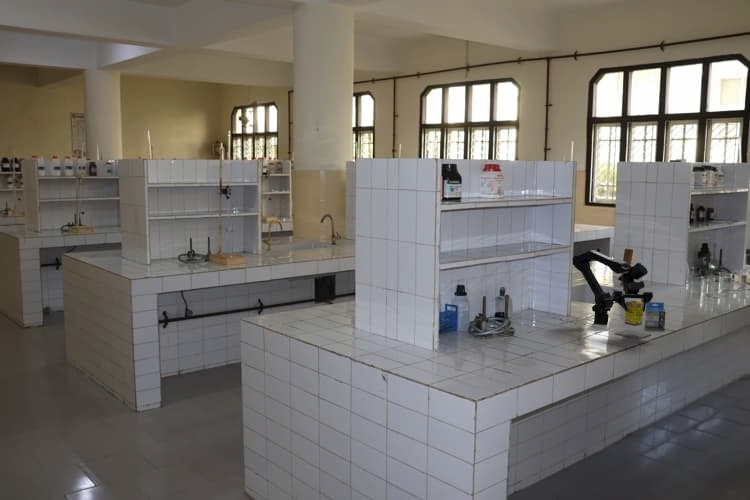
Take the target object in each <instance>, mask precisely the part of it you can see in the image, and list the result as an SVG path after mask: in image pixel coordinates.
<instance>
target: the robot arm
mask: <svg viewBox="0 0 750 500" xmlns="http://www.w3.org/2000/svg"><path fill="white" fill-rule="evenodd" d="M572 259H573V263H572V265H573V266H574V267H575V269H576V270H578V271H579V272H580V273H581V274H582V276H583V278H584V279H585V281H586V283H587V285H588V286H589V288H590V290H591V292H592V293H593V295H594V303H595V304H594V305H592V306H591V311H592V312H594V314H593V316H594V319H593V324H597V325H608V324H609V317H610V315H609V314H608V313H609V312H611V310H612V308H613V306H614V302H615V303H617V304H618V305H619V306H620V307H621V308H622V309H623V310H624V311H626V312H627V306H626V299H636V300H637V299H640V302H643V303H644V306H643V313H645V312H646V303H647V302H652V299H653V298H654V294H653V292H652V291H643V293H642V294H641V293H640V294H639V292H640V290H642V289H644V288H645V282H644V281H643V280H641V281H639V282H638V280H640V279H641V278H643V277H644V276H646V275H648V273H649V271H648V269H647V267H645V266H644V265H643V264H642V263H641V262H636V264H635V265H633V266H632V265H631V264H629V263H628V262H627V261H624V260H620V259H619V260H618V259H614V258H611V257H609V256H608V255H605V254H603V253H601V252H598V251H597V250H594V249H593V250H588V251H586V252H584V253H582V254H579V255H575V256H573V257H572ZM591 261H596V262H598V263H600V264H602V265H603V266H606V267H608V268H609V269H610V270H611V271H612V272H613V273H615V274H617V275H619V274H621V275H619V277H618V278H617V280H618V281H620V282H621V283H622V286H623V288H622V290H613V292H612V294H611V293H610V292H605V291H604V289H603V287H601V285H600V283H599V281H598V279H597V277H596V275H595V274H594V272H593V270H592V269H591ZM635 280H636V281H635ZM623 292H624V293H623Z"/></svg>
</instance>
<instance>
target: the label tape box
mask: <svg viewBox="0 0 750 500" xmlns="http://www.w3.org/2000/svg"><path fill="white" fill-rule="evenodd" d="M664 306H665V302H657V301H654V302H653V301H650V302H647V303H646V306H645V318H644V326H645V327H646V328H665V326H666V309H665V307H664Z"/></svg>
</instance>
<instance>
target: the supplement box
mask: <svg viewBox="0 0 750 500" xmlns="http://www.w3.org/2000/svg"><path fill="white" fill-rule="evenodd" d="M625 303H626V306H627V312H626V311H625V310H624V311H625V314H624V324H625V325H629V326H633V327H637V326H642V324H643V315H644V312H643V306H644V303H643V302H641V301H638V300H629V301H625Z"/></svg>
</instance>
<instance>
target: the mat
mask: <svg viewBox="0 0 750 500" xmlns="http://www.w3.org/2000/svg"><path fill="white" fill-rule="evenodd" d="M614 334H615V336H616V335H617V336H620V337H627V338H631V339H635V340H641V339H643V338H648V337H650V336H652V335H651V333H648V332H647V333H646V332H642V331H638V330H633V329H629V328H627V329H624V330H621V331H617V332H615V333H614Z"/></svg>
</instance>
